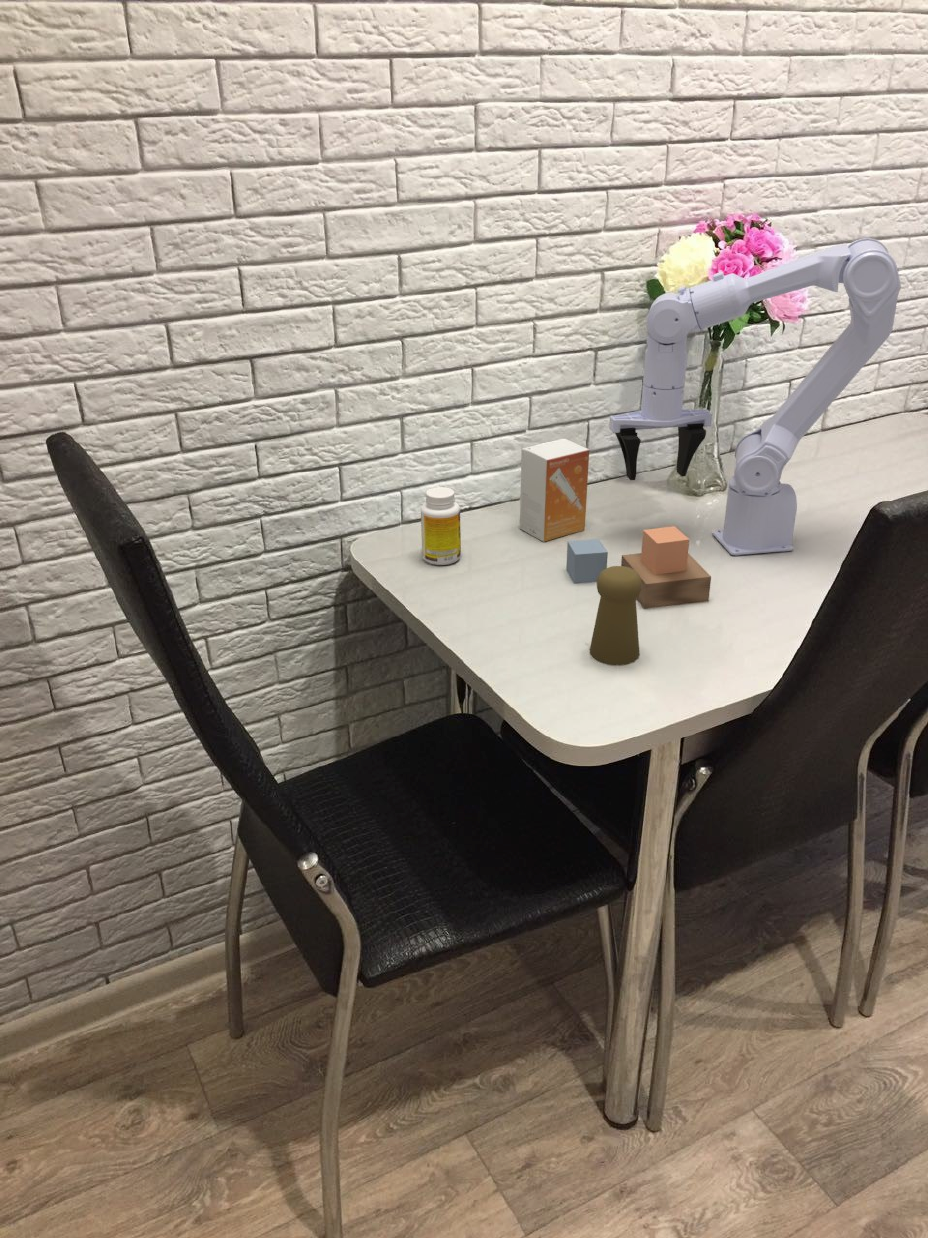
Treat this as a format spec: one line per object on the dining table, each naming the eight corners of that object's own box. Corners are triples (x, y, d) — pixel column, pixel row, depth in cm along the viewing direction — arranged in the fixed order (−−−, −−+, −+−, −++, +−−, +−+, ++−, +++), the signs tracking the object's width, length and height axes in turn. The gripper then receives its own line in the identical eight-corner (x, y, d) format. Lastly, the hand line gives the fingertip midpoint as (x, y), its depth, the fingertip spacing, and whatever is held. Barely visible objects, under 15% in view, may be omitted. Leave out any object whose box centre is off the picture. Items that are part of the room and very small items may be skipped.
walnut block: (681, 574, 144) (683, 548, 142) (708, 603, 137) (711, 576, 135) (620, 581, 143) (621, 555, 141) (643, 611, 135) (646, 584, 133)
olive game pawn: (585, 641, 128) (589, 560, 122) (633, 638, 128) (639, 558, 123) (594, 666, 122) (599, 583, 117) (644, 664, 123) (651, 581, 117)
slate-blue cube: (597, 567, 146) (599, 538, 144) (605, 581, 142) (607, 552, 140) (566, 570, 145) (567, 540, 143) (574, 584, 141) (575, 554, 139)
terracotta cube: (671, 556, 140) (674, 526, 138) (686, 570, 136) (689, 539, 134) (640, 560, 139) (643, 530, 137) (654, 574, 135) (657, 543, 133)
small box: (544, 543, 153) (546, 459, 147) (518, 529, 158) (519, 447, 151) (586, 530, 157) (590, 448, 151) (560, 516, 162) (563, 436, 155)
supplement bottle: (466, 563, 147) (465, 496, 142) (429, 569, 146) (427, 502, 141) (453, 547, 152) (452, 482, 147) (417, 553, 150) (415, 487, 145)
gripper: (702, 373, 149) (693, 462, 155) (605, 379, 146) (600, 469, 153) (721, 386, 142) (711, 479, 149) (620, 393, 140) (614, 487, 147)
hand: (656, 475), depth 151 cm, fingers open, 7 cm apart
